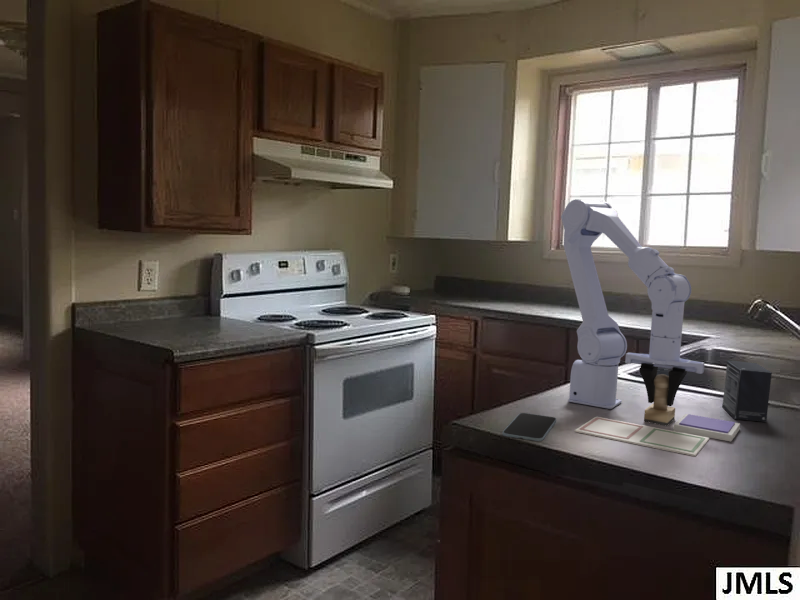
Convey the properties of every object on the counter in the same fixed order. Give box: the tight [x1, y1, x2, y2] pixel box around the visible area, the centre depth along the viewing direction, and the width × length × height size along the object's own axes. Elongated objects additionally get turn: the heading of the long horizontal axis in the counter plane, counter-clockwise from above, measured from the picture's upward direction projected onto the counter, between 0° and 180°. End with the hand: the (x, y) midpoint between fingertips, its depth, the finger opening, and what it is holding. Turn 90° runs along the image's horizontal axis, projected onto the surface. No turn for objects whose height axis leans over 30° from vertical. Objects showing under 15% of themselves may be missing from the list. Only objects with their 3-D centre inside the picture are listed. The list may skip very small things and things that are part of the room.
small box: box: [721, 360, 773, 423], centre depth 144 cm, size 11×6×10 cm, turn 168°
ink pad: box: [672, 413, 741, 443], centre depth 131 cm, size 10×10×2 cm
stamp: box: [643, 373, 676, 427], centre depth 137 cm, size 4×6×9 cm
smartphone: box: [502, 412, 557, 442], centre depth 129 cm, size 7×1×15 cm
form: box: [574, 416, 710, 457], centre depth 127 cm, size 21×12×1 cm, turn 56°
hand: (660, 403), depth 137 cm, fingers closed on stamp, 3 cm apart
